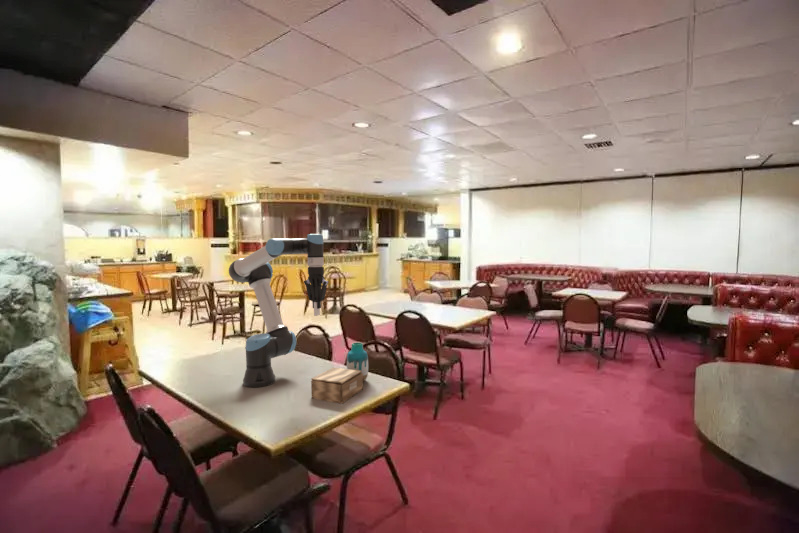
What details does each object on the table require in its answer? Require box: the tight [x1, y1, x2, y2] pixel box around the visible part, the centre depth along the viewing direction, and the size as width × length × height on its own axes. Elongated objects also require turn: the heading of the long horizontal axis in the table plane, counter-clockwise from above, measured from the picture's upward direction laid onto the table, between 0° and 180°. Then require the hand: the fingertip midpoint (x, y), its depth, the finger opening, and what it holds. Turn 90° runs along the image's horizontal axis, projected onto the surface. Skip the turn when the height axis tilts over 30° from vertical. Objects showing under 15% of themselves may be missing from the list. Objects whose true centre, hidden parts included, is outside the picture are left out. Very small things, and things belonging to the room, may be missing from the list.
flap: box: [311, 367, 362, 384], centre depth 184 cm, size 16×17×1 cm
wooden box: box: [310, 373, 364, 405], centre depth 184 cm, size 16×18×8 cm
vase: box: [346, 341, 369, 382], centre depth 200 cm, size 11×11×19 cm
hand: (317, 315), depth 194 cm, fingers closed
